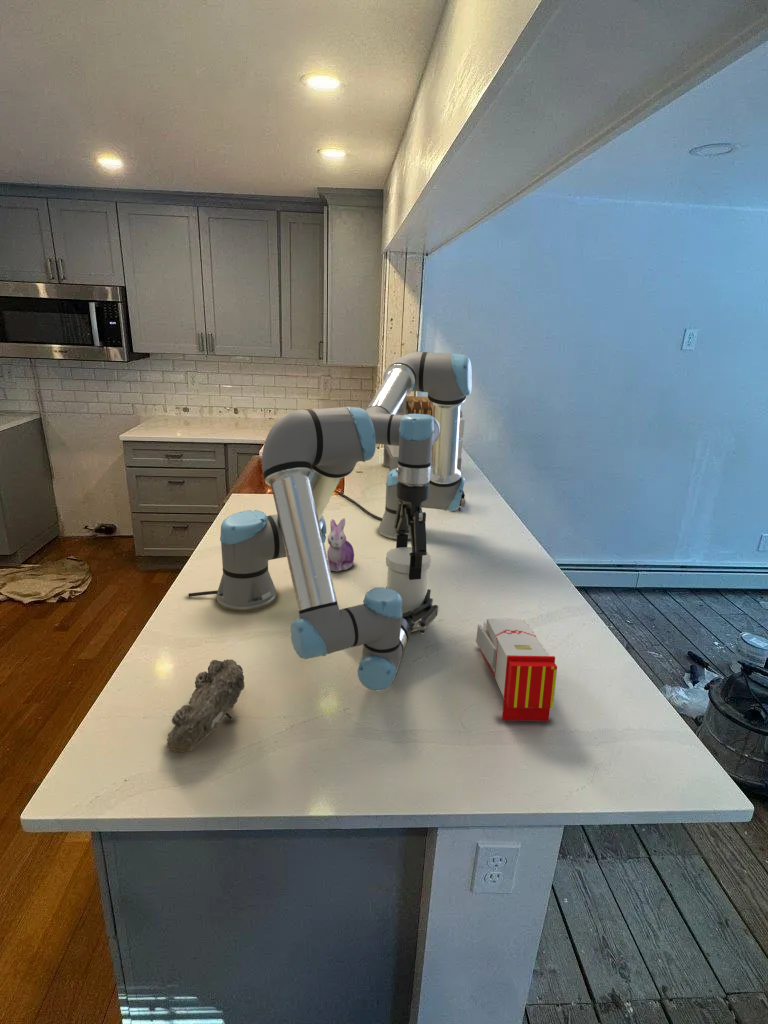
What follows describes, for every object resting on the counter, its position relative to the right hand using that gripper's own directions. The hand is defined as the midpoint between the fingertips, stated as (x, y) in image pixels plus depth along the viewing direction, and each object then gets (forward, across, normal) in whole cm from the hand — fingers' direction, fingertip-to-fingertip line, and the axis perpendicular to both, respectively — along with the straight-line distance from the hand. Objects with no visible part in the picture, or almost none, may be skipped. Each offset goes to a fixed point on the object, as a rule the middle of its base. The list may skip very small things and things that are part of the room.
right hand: (407, 568), depth 139 cm
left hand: (+9, -4, +2) cm, 10 cm away
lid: (-3, 0, 0) cm, 3 cm away
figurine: (+15, -35, -10) cm, 40 cm away
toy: (+15, +27, +16) cm, 34 cm away
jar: (+15, 0, 0) cm, 15 cm away
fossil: (+15, +26, -46) cm, 55 cm away
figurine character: (+15, -82, +46) cm, 96 cm away
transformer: (+15, -131, +48) cm, 141 cm away
